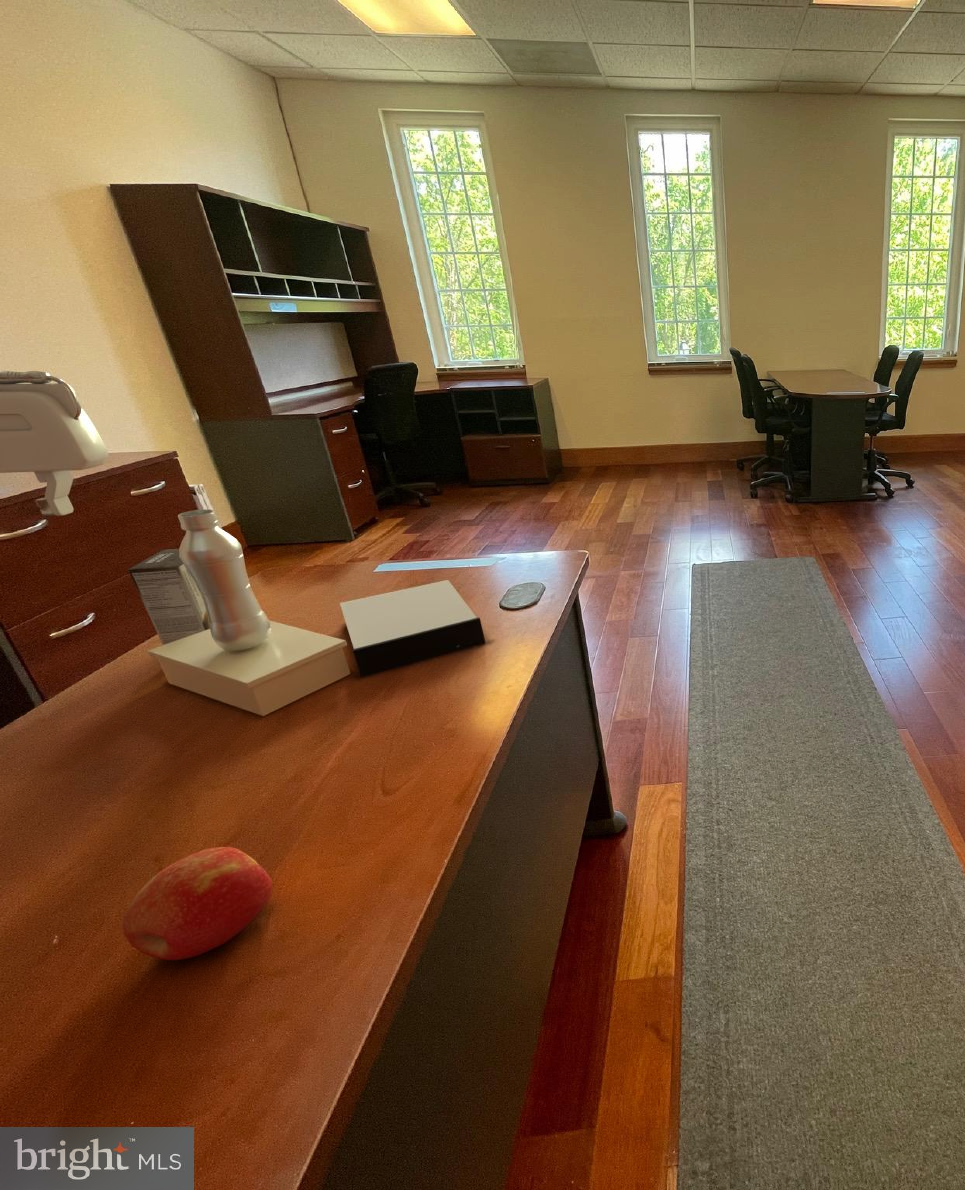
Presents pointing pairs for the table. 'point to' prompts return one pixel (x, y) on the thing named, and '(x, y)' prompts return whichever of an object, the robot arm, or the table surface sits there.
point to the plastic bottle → (222, 582)
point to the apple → (197, 904)
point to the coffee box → (170, 596)
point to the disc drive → (409, 626)
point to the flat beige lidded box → (255, 667)
